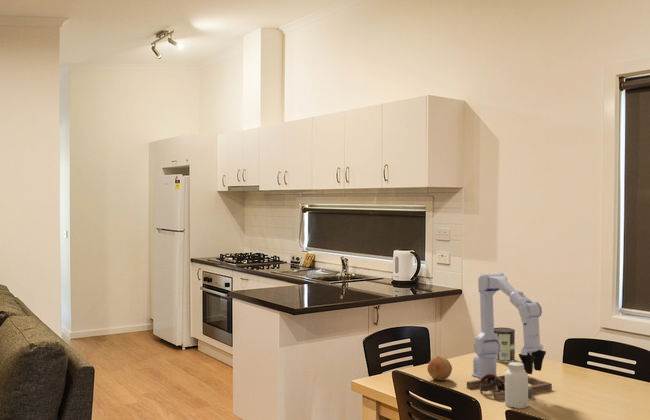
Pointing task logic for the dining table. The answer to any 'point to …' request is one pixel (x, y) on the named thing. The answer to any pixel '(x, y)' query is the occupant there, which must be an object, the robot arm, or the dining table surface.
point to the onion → (439, 368)
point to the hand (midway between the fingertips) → (533, 372)
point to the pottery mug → (491, 383)
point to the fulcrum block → (529, 392)
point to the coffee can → (506, 344)
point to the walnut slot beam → (537, 384)
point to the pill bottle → (516, 386)
